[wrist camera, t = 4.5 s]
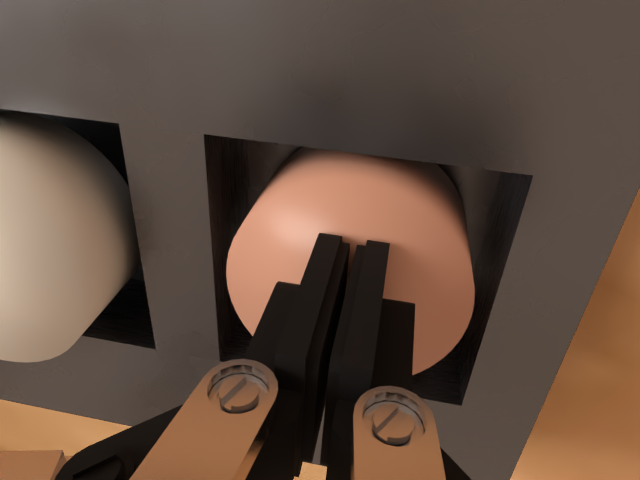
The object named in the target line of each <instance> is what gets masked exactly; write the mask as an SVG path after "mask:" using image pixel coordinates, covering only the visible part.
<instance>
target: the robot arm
mask: <svg viewBox="0 0 640 480" xmlns="http://www.w3.org/2000/svg"><path fill="white" fill-rule="evenodd" d="M389 247H390V243H386V242H379V241H372V240H367V242H366V246H364V245H358V244H357V247H356V251H355V255H354V259H353V264H352V268H351V272H350V276H349V280H348V285H347V289H346V280H347V271H348V261H349V252H350V243H344V242H342V236H338V235H332V234H325V233H319V234H318V237H317V239H316V242H315V245H314V247H313V250H312V253H311V256H310V258H309V261H308V264H307V266H306V269H305V272H304V275H303V277H302V280H301V283H300V285H299V284H293V283H287V282H281V281H278V282H277V283H276V285H275V287H274V289H273V291H272V294H271V296H270V298H269V301H268V303H267V305H266V307H265V310H264V312H263V314H262V317H261V319H260V321H259V324H258V326H257V328H256V330H255V333H254V335H253V337H252V340H251V342H250V344H249V346H248V349H247V351H246V353H245V356H244V358H243V359H233V360H229V361H226V362H223V363H220V364H219V365H217V366H215V367H213V368H212V369H211V370H210V371H209V372H208V373H207V374H206V375H205V376H204V377H203V378H202V380H201V381H200V382H199V384H198V385H197V387H196V388H195V389H194V391H193V392H192V393H191V395H190V396H189V398H188V399H187V400H186V402H185V403H184V404H182V405H180V406H178V407H176V408H173V409H171V410H169V411H167V412H164V413H162V414H160V415H158V416H155V417H153V418H151V419H149V420H146V421H144V422H142V423H140V424H137V425H135V426H133V427H131V428H128V429H126V430H124V431H122V432H120V433H117V434H115V435H113V436H111V437H108V438H106V439H104V440H102V441H99V442H97V443H95V444H93V445H90V446H88V447H87V448H85V449H83V450H81V451H80V452H78V453H76V454H75V455H74V456H64V453H63V450H51V451H0V480H293V479H294V476H296V477H299V475H300V470H301V466H302V462H303V461H304V462H309V463H312V461H313V457H314V453H315V448H316V444H317V439H318V435H319V430H320V426H321V421H322V417H323V412H324V408H325V413H324V424H323V434H322V445H321V456H320V465H324V466H327V474H326V480H472V479H471V478H470V477H469V476H468V475H467V474H466V473H465V472H464V471H463V470H462V469H461V468H460V467H459V466H458V465H457V464H456V463H455V462H454V461H453V460H452V458H451V457H450V456H449V455H448V454H447V453H446V452H445V451H444V450H443V449H442V448H441V447H440V444H439V439H438V433H437V428H436V422H435V419H434V416H433V413H432V411H431V409H430V408H429V406H428V405H427V404H426V402H425V401H424V400H423V399H421V398H420V397H419V396H417V395H416V394H415V393H413V392H412V370H413V348H414V326H415V303H410V302H404V301H398V300H392V299H385V298H383V292H384V284H385V277H386V269H387V262H388V254H389ZM345 289H346V293H345Z"/></svg>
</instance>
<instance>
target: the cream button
mask: <svg viewBox="0 0 640 480" xmlns="http://www.w3.org/2000/svg"><path fill="white" fill-rule="evenodd" d="M140 262H141V256H140V250H139V244H138V238H137V231H136V225H135V219H134V213H133V207H132V201H131V195H130V189H129V187H128V185H127V183H126V182H125V180H124V179H123V177H122V176H121V174H120V173H119V172H118V171H117V169H116V168H115V167H114V165H113V164H112V163H111V162H110V161H109V160H108V159H107V158H106V157H105V156H104V155H103V154H102V153H101V152H100V151H99V150H98V149H97V148H95V147H94V146H93V145H92V144H91V143H90V142H88V141H87V140H86V139H84V138H83V137H81V136H80V135H79V134H77V133H76V132H74V131H72V130H70V129H69V128H67V127H65V126H64V125H62V124H59V123H57V122H55V121H53V120H50V119H48V118H45V117H42V116H39V115H36V114H32V113H27V112H21V111H7V110H6V111H0V360H5V361H12V362H27V363H28V362H40V361H44V360H49V359H52V358H54V357H57V356H59V355H61V354H62V353H64V352H66V351H67V350H68V349H69V348H70V347H71V346H72V345H74V343H75V342H76V341H77V340H78V339H79V338H80V336H81V335H82V334H83V333H84V332H85V331H86V329H87V328H88V327H89V326H90V325H91V324H92V323H93V321H94V320H95V319H96V318H97V317H98V316H99V314H100V313H101V312H102V311H103V310H104V309H105V307H106V306H107V305H108V304H109V303H110V302H111V300H112V299H113V298H114V297H115V296H116V295H117V293H118V292H119V291H120V290H121V289H122V288H123V286H124V285H125V284H126V283H127V282H128V281H129V279H130V278H131V277H132V276H133V274H134V273H135V272H136V270H137V269H138V267H139V264H140Z"/></svg>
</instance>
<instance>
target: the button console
mask: <svg viewBox="0 0 640 480" xmlns="http://www.w3.org/2000/svg"><path fill="white" fill-rule="evenodd" d="M6 110H7V111H21V112H27V113H32V114H36V115H39V116H42V117H45V118H48V119H50V120H53V121H55V122H57V123H59V124H62V125H64V126H65V127H67V128H69V129H70V130H72V131H74V132H76V133H77V134H79V135H80V136H81V137H83V138H84V139H86V140H87V141H88V142H90V143H91V144H92V145H93V146H94V147H95V148H97V149H98V150H99V151H100V152H101V153H102V154H103V155H104V156H105V157H106V158H107V159H108V160H109V161H110V162H111V163H112V164H113V165H114V167H115V168H116V169H117V171H118V172H119V173H120V174H121V176H122V177H123V179H124V180H125V182H126V183H127V185H128V187H129V189H130V195H131V201H132V207H133V213H134V219H135V225H136V231H137V238H138V244H139V250H140V256H141V262H140V264H139V267H138V269H137V270H136V272H135V273H134V274H133V276H132V277H131V278H130V279H129V281H128V282H127V283H126V284H125V285H124V286H123V288H122V289H121V290H120V291H119V292H118V293H117V295H116V296H115V297H114V298H113V299H112V300H111V302H110V303H109V304H108V305H107V306H106V307H105V309H104V310H103V311H102V312H101V313H100V314H99V316H98V317H97V318H96V319H95V320H94V321H93V323H92V324H91V325H90V326H89V327H88V328H87V329H86V331H85V332H84V333H83V334H82V335H81V336H80V338H79V339H78V340H77V341H76V342H75V343H74V345H72V346H71V347H70V348H69V349H68V350H67V351H66V352H64V353H62V354H61V355H59V356H57V357H54V358H52V359H49V360H44V361H40V362H28V363H27V362H12V361H5V360H0V399H2V400H7V401H12V402H16V403H21V404H26V405H31V406H36V407H41V408H46V409H50V410H55V411H60V412H65V413H70V414H75V415H79V416H84V417H89V418H94V419H99V420H104V421H109V422H113V423H118V424H123V425H128V426H135V425H137V424H140V423H142V422H144V421H146V420H149V419H151V418H153V417H155V416H158V415H160V414H162V413H164V412H167V411H169V410H171V409H173V408H176V407H178V406H180V405H182V404H184V403H185V402H186V400H187V399H188V398H189V396H190V395H191V393H192V392H193V391H194V389H195V388H196V387H197V385H198V384H199V382H200V381H201V380H202V378H203V377H204V376H205V375H206V374H207V373H208V372H209V371H210V370H211V369H212V368H213V367H215V366H217V365H219V364H220V363H223V362H226V361H229V360H233V359H243V358H244V356H245V353H246V351H247V349H248V346H249V344H250V342H251V340H252V337H253V336H252V335H251V333H250V332H249V331H248V330H247V328H246V327H245V326H244V324H243V323H242V321H241V319H240V318H239V316H238V314H237V313H236V311H235V308H234V306H233V304H232V301H231V298H230V294H229V291H228V286H227V278H226V265H227V258H228V253H229V249H230V246H231V244H232V241H233V238H234V237H235V235H236V233H237V231H238V230H239V228H240V226H241V225H242V223H243V221H244V220H245V218H246V217H247V215H248V214H249V212H250V210H251V209H252V207H253V206H254V204H255V203H256V201H257V199H258V198H259V196H260V195H261V193H262V192H263V190H264V189H265V187H266V185H267V184H268V182H269V181H270V179H271V178H272V176H273V174H274V173H275V172H276V171H277V169H278V168H279V167H280V166H281V164H282V163H283V162H284V161H286V160H287V159H288V158H289V157H290V156H291V155H292V154H294V153H295V152H297V151H298V150H300V149H301V148H303V147H310V148H318V149H326V150H334V151H342V152H350V153H358V154H366V155H374V156H382V157H390V158H398V159H406V160H414V161H422V162H430V163H436V164H437V165H438V166H439V167H440V168H441V169H442V170H443V171H444V172H445V173H446V175H447V176H448V177H449V179H450V180H451V181H452V183H453V184H454V186H455V187H456V190H457V192H458V194H459V196H460V198H461V200H462V204H463V207H464V210H465V216H466V223H467V231H468V239H469V247H470V255H471V263H472V272H473V280H474V288H475V295H474V307H473V312H472V317H471V319H470V322H469V324H468V327H467V329H466V331H465V333H464V334H463V336H462V338H461V339H460V341H459V342H458V343H457V344H456V346H455V347H454V348H453V349H452V350H451V351H450V352H449V353H448V354H447V355H446V356H445V357H444V358H443V359H441V360H440V361H438V362H437V363H435V364H434V365H433V366H431V367H429V368H427V369H425V370H423V371H421V372H419V373H417V374H414V375H412V392H413V393H415V394H416V395H417V396H419V397H420V398H421V399H423V400H424V401H425V402H426V404H427V405H428V406H429V408H430V409H431V411H432V413H433V416H434V419H435V422H436V428H437V433H438V439H439V444H440V447H441V448H442V449H443V450H444V451H445V452H446V453H447V454H448V455H449V456H450V457H451V458H452V460H453V461H454V462H455V463H456V464H457V465H458V466H459V467H460V468H461V469H462V470H463V471H464V472H465V473H466V474H467V475H468V476H469V477H470V478H471V479H472V480H510V478H511V475H512V473H513V471H514V469H515V466H516V464H517V462H518V460H519V457H520V455H521V453H522V451H523V448H524V446H525V444H526V442H527V439H528V437H529V435H530V433H531V430H532V428H533V426H534V424H535V421H536V419H537V417H538V415H539V412H540V410H541V408H542V406H543V403H544V401H545V399H546V397H547V394H548V392H549V390H550V388H551V385H552V383H553V381H554V379H555V376H556V374H557V372H558V370H559V367H560V365H561V363H562V360H563V358H564V356H565V354H566V351H567V349H568V347H569V345H570V342H571V340H572V338H573V336H574V333H575V331H576V329H577V327H578V324H579V322H580V320H581V318H582V315H583V313H584V311H585V309H586V306H587V304H588V302H589V300H590V297H591V295H592V293H593V291H594V288H595V286H596V284H597V282H598V279H599V277H600V275H601V273H602V270H603V268H604V266H605V264H606V261H607V259H608V257H609V255H610V252H611V250H612V248H613V246H614V243H615V241H616V239H617V237H618V234H619V232H620V230H621V228H622V225H623V223H624V221H625V218H626V216H627V214H628V212H629V209H630V207H631V205H632V203H633V200H634V198H635V196H636V194H637V191H638V189H639V187H640V0H0V111H6ZM324 413H325V408H324V412H323V417H322V421H321V426H320V430H319V435H318V439H317V444H316V448H315V453H314V457H313V461H312V464H317V465H320V456H321V445H322V434H323V424H324ZM303 462H304V461H303ZM307 463H309V462H307ZM322 466H324V465H322ZM326 467H327V466H326Z"/></svg>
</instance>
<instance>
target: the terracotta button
mask: <svg viewBox="0 0 640 480" xmlns="http://www.w3.org/2000/svg"><path fill="white" fill-rule="evenodd" d="M319 233H325V234H332V235H338V236H342V242H344V243H350V252H349V261H348V271H347V280H346V289H347V285H348V280H349V276H350V272H351V268H352V264H353V259H354V255H355V251H356V247H357V244H358V245H364V246H366V242H367V240H372V241H379V242H386V243H390V247H389V254H388V262H387V269H386V277H385V284H384V292H383V298H385V299H392V300H398V301H404V302H410V303H415V326H414V348H413V370H412V375H414V374H417V373H419V372H421V371H423V370H425V369H427V368H429V367H431V366H433V365H434V364H435V363H437V362H438V361H440V360H441V359H443V358H444V357H445V356H446V355H447V354H448V353H449V352H450V351H451V350H452V349H453V348H454V347H455V346H456V344H457V343H458V342H459V341H460V339H461V338H462V336H463V334H464V333H465V331H466V329H467V327H468V324H469V322H470V319H471V317H472V312H473V307H474V295H475V288H474V280H473V272H472V263H471V255H470V247H469V239H468V231H467V223H466V216H465V210H464V207H463V204H462V200H461V198H460V196H459V194H458V192H457V190H456V187H455V186H454V184H453V183H452V181H451V180H450V179H449V177H448V176H447V175H446V173H445V172H444V171H443V170H442V169H441V168H440V167H439V166H438V165H437V164H436V163H430V162H422V161H414V160H406V159H398V158H390V157H382V156H374V155H366V154H358V153H350V152H342V151H334V150H326V149H318V148H310V147H303V148H301V149H300V150H298V151H297V152H295V153H294V154H292V155H291V156H290V157H289V158H288V159H287V160H286V161H284V162H283V163H282V164H281V166H280V167H279V168H278V169H277V171H276V172H275V173H274V174H273V176H272V178H271V179H270V181H269V182H268V184H267V185H266V187H265V189H264V190H263V192H262V193H261V195H260V196H259V198H258V199H257V201H256V203H255V204H254V206H253V207H252V209H251V210H250V212H249V214H248V215H247V217H246V218H245V220H244V221H243V223H242V225H241V226H240V228H239V230H238V231H237V233H236V235H235V237H234V238H233V241H232V244H231V246H230V249H229V253H228V258H227V265H226V278H227V286H228V291H229V294H230V298H231V301H232V304H233V306H234V308H235V311H236V313H237V314H238V316H239V318H240V319H241V321H242V323H243V324H244V326H245V327H246V328H247V330H248V331H249V332H250V333H251V335H252V336H253V335H254V333H255V330H256V328H257V326H258V324H259V321H260V319H261V317H262V314H263V312H264V310H265V307H266V305H267V303H268V301H269V298H270V296H271V294H272V291H273V289H274V287H275V285H276V283H277V282H278V281H281V282H287V283H293V284H299V285H300V283H301V280H302V277H303V275H304V272H305V269H306V266H307V264H308V261H309V258H310V256H311V253H312V250H313V247H314V245H315V242H316V239H317V237H318V234H319ZM346 289H345V293H346Z"/></svg>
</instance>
